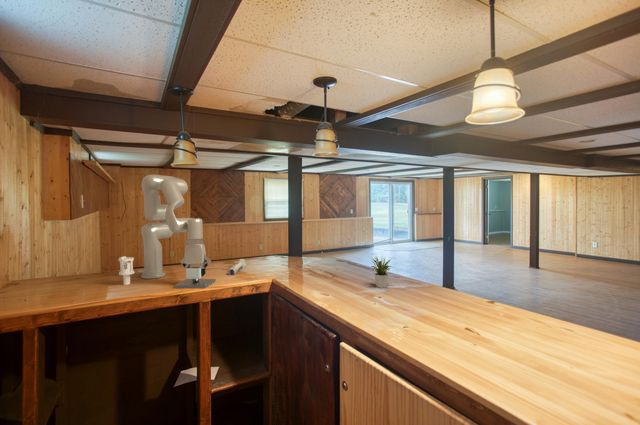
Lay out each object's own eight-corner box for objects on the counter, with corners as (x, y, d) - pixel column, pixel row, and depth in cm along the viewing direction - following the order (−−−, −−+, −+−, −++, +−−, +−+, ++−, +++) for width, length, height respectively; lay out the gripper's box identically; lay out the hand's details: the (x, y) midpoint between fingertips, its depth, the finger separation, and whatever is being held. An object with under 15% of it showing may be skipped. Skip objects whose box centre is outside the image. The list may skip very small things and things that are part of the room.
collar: (186, 278, 163) (186, 268, 163) (192, 275, 170) (192, 266, 170) (199, 278, 162) (199, 268, 162) (205, 275, 169) (205, 266, 169)
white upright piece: (115, 285, 167) (115, 256, 166) (126, 282, 173) (126, 254, 173) (126, 286, 165) (126, 257, 165) (137, 282, 172) (137, 255, 171)
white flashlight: (226, 269, 189) (239, 256, 214) (227, 279, 190) (239, 266, 215) (235, 269, 189) (246, 256, 214) (236, 279, 190) (247, 266, 215)
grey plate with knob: (174, 288, 160) (174, 275, 160) (187, 281, 174) (186, 269, 174) (205, 288, 159) (205, 275, 159) (215, 281, 173) (215, 269, 173)
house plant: (360, 287, 157) (360, 255, 157) (369, 282, 169) (369, 251, 169) (388, 291, 150) (388, 256, 150) (396, 284, 163) (396, 253, 162)
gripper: (175, 242, 163) (176, 277, 163) (208, 242, 162) (209, 277, 162) (182, 241, 170) (183, 274, 170) (214, 241, 169) (214, 274, 170)
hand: (195, 275), depth 166 cm, fingers closed on collar, 7 cm apart
